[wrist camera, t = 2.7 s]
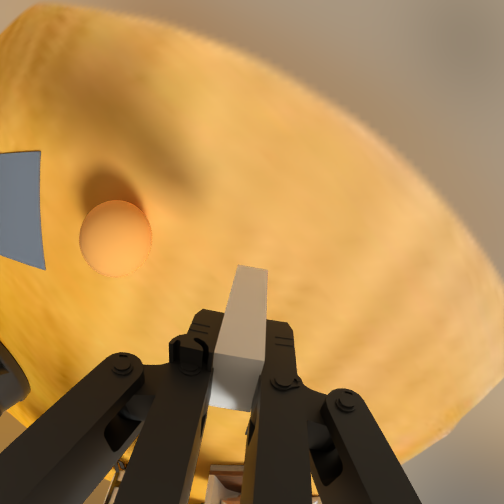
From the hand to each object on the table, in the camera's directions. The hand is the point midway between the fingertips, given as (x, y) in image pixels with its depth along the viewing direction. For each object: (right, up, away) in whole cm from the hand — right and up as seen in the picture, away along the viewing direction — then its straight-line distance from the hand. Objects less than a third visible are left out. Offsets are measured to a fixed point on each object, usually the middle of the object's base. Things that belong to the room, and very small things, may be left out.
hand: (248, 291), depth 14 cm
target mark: (-26, +7, +6) cm, 28 cm away
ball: (-10, +3, +4) cm, 11 cm away
